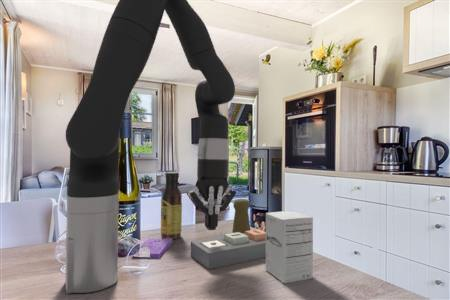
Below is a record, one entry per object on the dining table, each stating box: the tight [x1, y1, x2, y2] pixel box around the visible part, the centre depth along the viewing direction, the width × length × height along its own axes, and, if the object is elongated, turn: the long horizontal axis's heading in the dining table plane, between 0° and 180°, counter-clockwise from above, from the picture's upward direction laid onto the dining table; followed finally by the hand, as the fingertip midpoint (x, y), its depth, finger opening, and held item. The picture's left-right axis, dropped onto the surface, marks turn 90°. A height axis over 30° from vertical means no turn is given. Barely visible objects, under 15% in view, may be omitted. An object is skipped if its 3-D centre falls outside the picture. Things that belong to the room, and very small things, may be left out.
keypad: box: [190, 233, 266, 270], centre depth 73 cm, size 20×10×4 cm, turn 120°
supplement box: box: [265, 210, 314, 284], centre depth 61 cm, size 7×7×13 cm
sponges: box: [136, 237, 173, 259], centre depth 77 cm, size 7×13×2 cm, turn 176°
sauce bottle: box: [160, 171, 183, 240], centre depth 89 cm, size 7×6×20 cm
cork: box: [231, 198, 251, 234], centre depth 93 cm, size 6×6×11 cm
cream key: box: [201, 240, 226, 249], centre depth 70 cm, size 4×4×2 cm
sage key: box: [223, 232, 248, 245], centre depth 73 cm, size 4×4×2 cm
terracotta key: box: [245, 228, 266, 241], centre depth 76 cm, size 4×4×2 cm
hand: (211, 229), depth 70 cm, fingers closed
